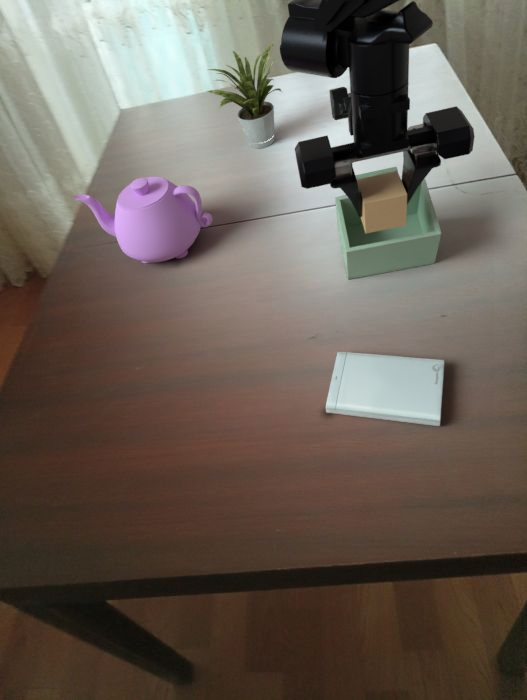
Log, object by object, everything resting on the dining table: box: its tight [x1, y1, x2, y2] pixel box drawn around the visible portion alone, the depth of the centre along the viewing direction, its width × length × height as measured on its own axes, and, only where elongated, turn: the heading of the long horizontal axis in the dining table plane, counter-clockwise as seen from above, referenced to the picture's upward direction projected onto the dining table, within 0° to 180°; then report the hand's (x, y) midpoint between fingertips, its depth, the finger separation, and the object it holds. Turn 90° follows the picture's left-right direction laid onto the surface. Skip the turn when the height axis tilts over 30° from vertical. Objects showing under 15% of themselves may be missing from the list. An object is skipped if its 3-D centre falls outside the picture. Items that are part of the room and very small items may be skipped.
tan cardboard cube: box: [357, 171, 407, 233], centre depth 61 cm, size 5×5×4 cm
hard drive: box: [325, 351, 446, 427], centre depth 57 cm, size 2×8×12 cm
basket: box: [334, 166, 443, 280], centre depth 69 cm, size 13×12×7 cm
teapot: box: [73, 176, 213, 264], centre depth 80 cm, size 20×14×12 cm
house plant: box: [206, 43, 283, 150], centre depth 93 cm, size 14×14×16 cm
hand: (381, 210), depth 62 cm, fingers closed on tan cardboard cube, 5 cm apart
